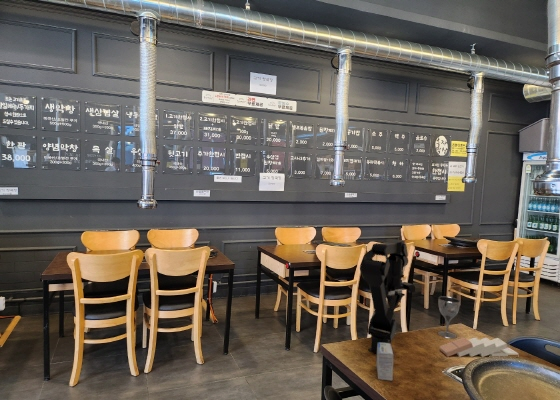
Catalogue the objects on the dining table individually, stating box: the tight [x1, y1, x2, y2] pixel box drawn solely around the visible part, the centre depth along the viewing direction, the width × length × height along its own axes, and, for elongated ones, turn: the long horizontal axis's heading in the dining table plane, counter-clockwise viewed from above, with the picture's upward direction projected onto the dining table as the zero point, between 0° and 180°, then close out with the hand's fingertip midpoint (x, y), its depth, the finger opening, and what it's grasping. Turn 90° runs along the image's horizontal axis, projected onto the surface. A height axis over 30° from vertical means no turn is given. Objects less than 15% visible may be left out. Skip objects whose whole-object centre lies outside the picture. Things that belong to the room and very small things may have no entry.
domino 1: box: [439, 337, 473, 358], centre depth 130 cm, size 2×5×10 cm
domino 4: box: [478, 337, 509, 358], centre depth 131 cm, size 2×5×10 cm
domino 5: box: [488, 347, 520, 357], centre depth 131 cm, size 2×5×10 cm
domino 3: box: [467, 337, 496, 358], centre depth 131 cm, size 2×5×10 cm
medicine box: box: [375, 342, 394, 382], centre depth 114 cm, size 8×4×9 cm, turn 168°
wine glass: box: [437, 295, 461, 339], centre depth 147 cm, size 8×8×15 cm
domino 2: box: [455, 337, 485, 358], centre depth 131 cm, size 2×5×10 cm
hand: (392, 310), depth 139 cm, fingers closed
